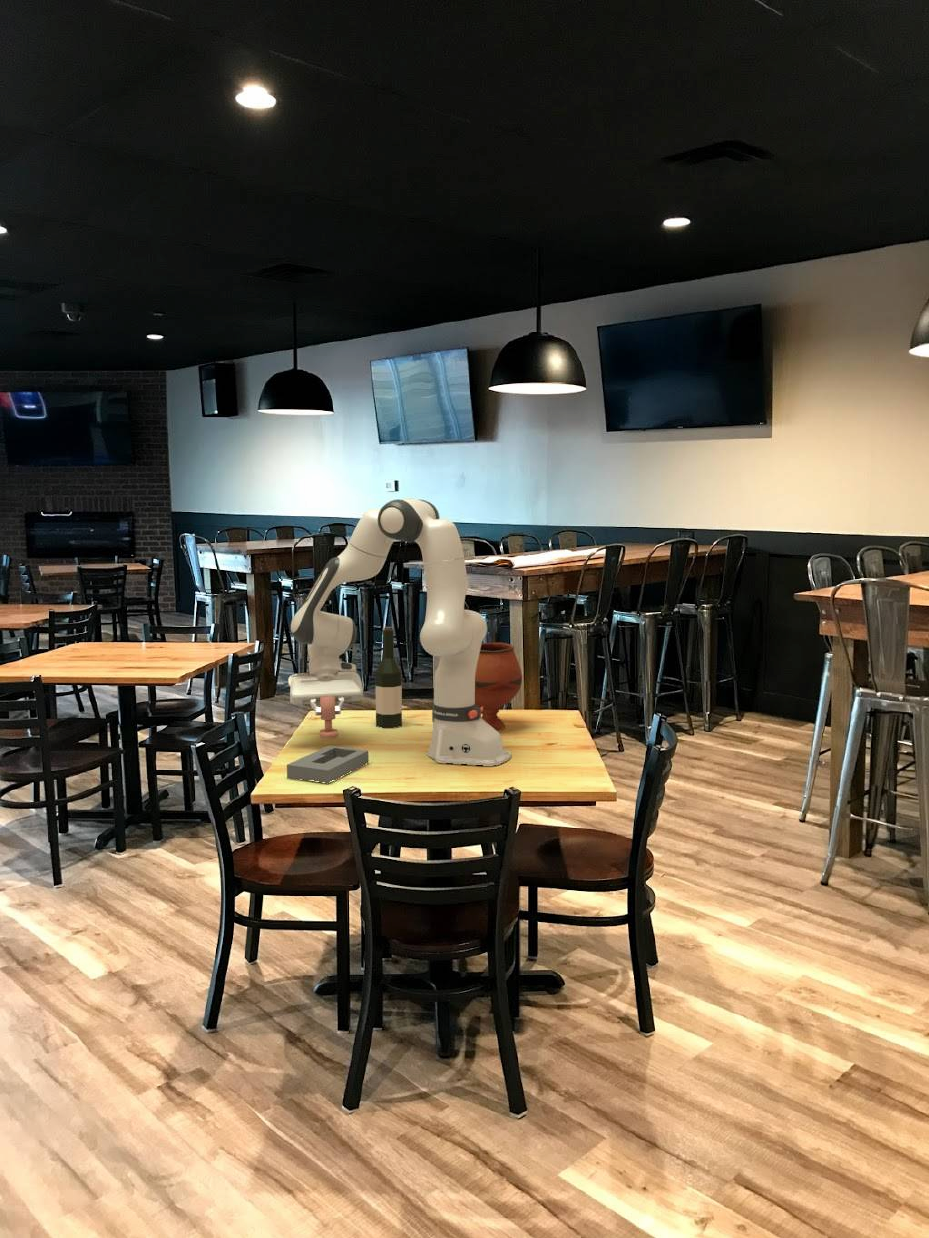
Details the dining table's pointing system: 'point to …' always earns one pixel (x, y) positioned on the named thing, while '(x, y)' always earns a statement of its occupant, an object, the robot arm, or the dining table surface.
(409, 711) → the dining table surface
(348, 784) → the dining table surface
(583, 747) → the dining table surface
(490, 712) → the goblet
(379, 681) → the wine bottle
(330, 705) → the peg
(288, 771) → the keyhole plate
